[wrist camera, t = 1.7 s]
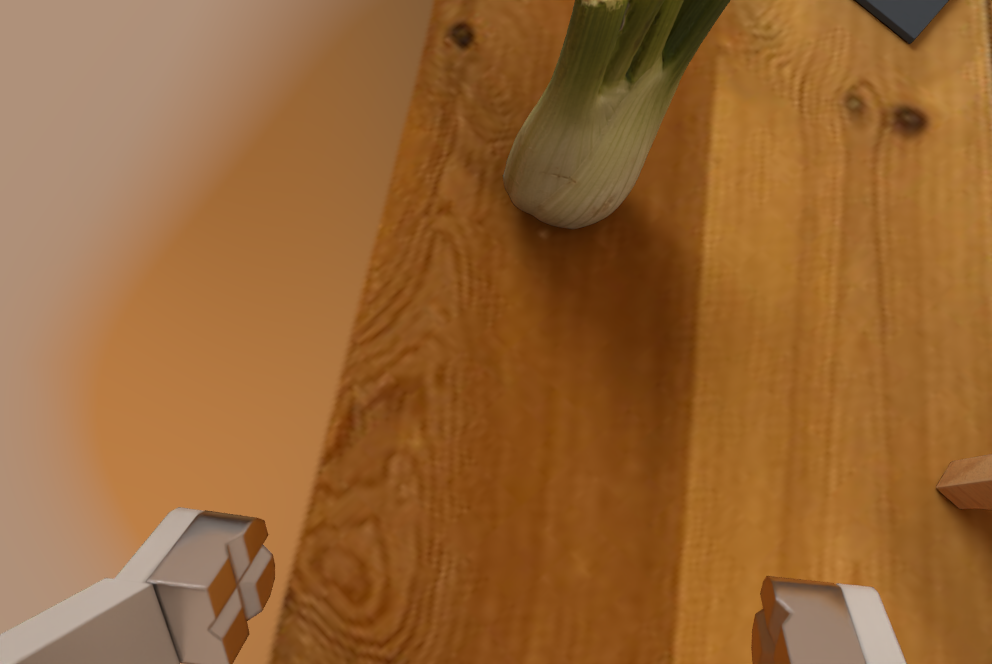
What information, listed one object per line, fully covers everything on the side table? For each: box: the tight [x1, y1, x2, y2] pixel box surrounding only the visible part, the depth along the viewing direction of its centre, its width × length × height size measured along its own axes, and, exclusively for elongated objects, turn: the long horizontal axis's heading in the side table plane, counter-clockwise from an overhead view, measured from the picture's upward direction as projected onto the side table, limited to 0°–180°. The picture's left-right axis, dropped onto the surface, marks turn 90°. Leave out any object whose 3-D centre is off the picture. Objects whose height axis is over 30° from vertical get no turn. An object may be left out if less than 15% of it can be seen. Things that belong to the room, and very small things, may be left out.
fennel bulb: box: [503, 0, 730, 229], centre depth 24 cm, size 6×5×12 cm
